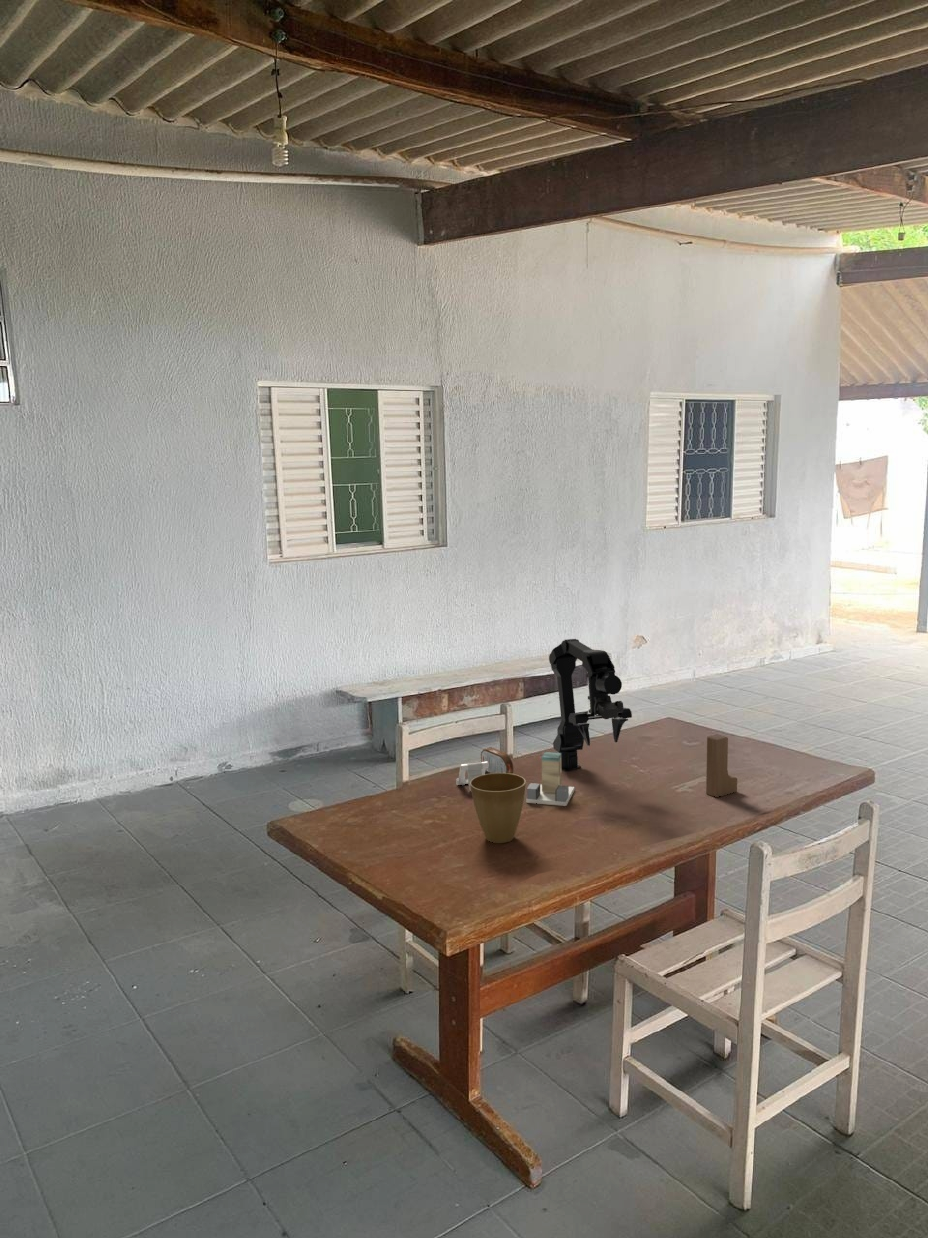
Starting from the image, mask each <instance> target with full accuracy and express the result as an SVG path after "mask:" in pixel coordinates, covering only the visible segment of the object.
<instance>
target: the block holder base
mask: <svg viewBox="0 0 928 1238" xmlns="http://www.w3.org/2000/svg"><path fill="white" fill-rule="evenodd" d="M574 792H575V786H570V785H558V787H557V789H556V791H555V793H548V792H542V783H534V782H532V783H529V784H528V786H527V788H526V799H525V800H526V804H527V803H528V804H536V803H537V804H538V805H550V806H551V805H552V806H560V807H561V806H564V807H567V806H568V803H569V802H570V800H571V798H572V796H573V794H574Z"/></svg>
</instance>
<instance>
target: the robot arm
mask: <svg viewBox="0 0 928 1238" xmlns="http://www.w3.org/2000/svg"><path fill="white" fill-rule="evenodd" d="M577 660H579V661H581V662H582V664H581V666H582V667H583V668H584V669H585V670H586V671H587V673H586V675H585V678H587V682H588V696H587V700H589V709H588V713H587V712H582V711H578V712H576V706H575V695H574V686H573V685H574V684H573V673H574V671H575V670H576V667H577V665H576V664H577V662H576V661H577ZM548 661H549V662H548V663H549V664H550V668H551V670H552V672H553V673H554V675H555V677H556V680H557V688H558V689H557V690H558V699H559V701H558V702H559V710H560V719H561V721H560V722H559V725H558V727H557V731H556V732H557V735H556V736H555V738H554V740H553V742H552V745H553V750H555V751H556V752H557V753H561V771H562V770H563V771H564V772H568V771H573V770H578V769H582V766H581V765H579V761H578V759H579V756H578V751H581V750H583V748H584V744H585V743H586V746H587V747H590V746H591V741H590V740H591V738H590V732H589V728H590V723H588V721H590V720H599V719H604V720H609V719H611V724H612V725H611V726H612V727H611V728H612V736H613V740H614V743H618V741H619V738H620V734H621V731H622V727H623V725H624V724H625V722H627V721H629V719H631V718H633V712H632V710H631V709H630V708H628V707H624V702H623V701H622V700H616V701H615V702H612V697H611V695H617V694H618V693H620V691H621V689H622V687H623V686H622V685H623V682H622V681H621V679H620V677H619V676H618V675H616V670H615V669H616V667H615V665H614V663H613V661H612V660H611V658H610V655H609V654H608V652H607V651H605V650H602V649H592V648H591V647H589V646H587V645H586V644H584V643H582V642H580V640H579V639H576V638H568V639H563V640H562V641H561V643H559V644H558V645H557V646H556V647H554V648H553V649H552V650H551V652H550V653H549V655H548ZM584 742H585V743H584Z"/></svg>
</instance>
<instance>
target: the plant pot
mask: <svg viewBox="0 0 928 1238" xmlns="http://www.w3.org/2000/svg"><path fill="white" fill-rule="evenodd" d="M526 782H527V781H526V778H524V777H523V776H521V775H518V774H515V773H513V774H510V773H485V774H484V775H480V776H477V777H475V778H473V779H472V780H471V781H470V787H471V795H472V796H471V797H472V801H473V805H474V808H475V812H476V815H477V819H478V821H479V824H480V827H481V830H482V832H483V834H484V836H485V839H486V840H487V841H488V842H489V841H490V842H489V843H492V842H493V844H505V843H508V842H511V841H513V840H514V838H515V835H516V832H517V828H518V826H519V823H520V819H521V816H522V810H523V805H524V799H525V792H526Z"/></svg>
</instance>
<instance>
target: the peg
mask: <svg viewBox="0 0 928 1238" xmlns="http://www.w3.org/2000/svg"><path fill="white" fill-rule="evenodd" d="M541 785H542V792H548V793H555V791H556V789H557V787H558V785H562V769H561V753H559V752H549V751H548V752H547V751H545V752H544V753H543V754H542V756H541ZM562 786H563V785H562Z"/></svg>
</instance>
